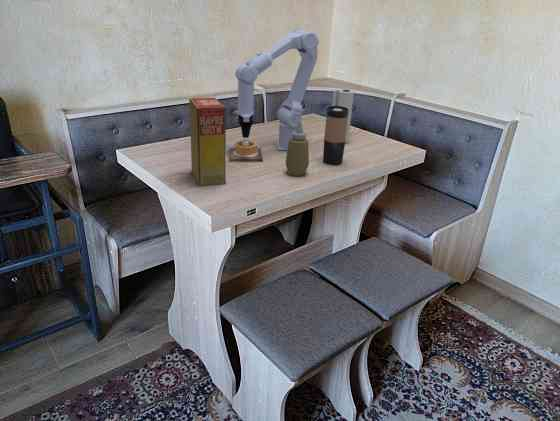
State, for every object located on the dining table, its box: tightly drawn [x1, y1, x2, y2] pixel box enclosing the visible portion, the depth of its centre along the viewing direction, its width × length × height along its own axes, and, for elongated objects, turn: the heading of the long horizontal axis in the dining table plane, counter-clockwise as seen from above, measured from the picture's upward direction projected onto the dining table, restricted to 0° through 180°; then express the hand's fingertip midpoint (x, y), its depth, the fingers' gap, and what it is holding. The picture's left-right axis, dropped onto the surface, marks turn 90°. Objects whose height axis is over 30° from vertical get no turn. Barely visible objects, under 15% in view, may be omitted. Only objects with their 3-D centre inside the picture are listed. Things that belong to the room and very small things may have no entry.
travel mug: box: [322, 105, 348, 166], centre depth 165 cm, size 8×8×20 cm
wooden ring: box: [234, 140, 258, 155], centre depth 171 cm, size 8×8×3 cm
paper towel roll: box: [331, 88, 355, 145], centre depth 187 cm, size 7×6×21 cm
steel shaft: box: [242, 139, 250, 147], centre depth 170 cm, size 2×2×5 cm
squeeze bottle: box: [285, 121, 310, 177], centre depth 154 cm, size 8×8×18 cm
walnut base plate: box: [228, 147, 264, 163], centre depth 171 cm, size 12×12×1 cm
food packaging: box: [188, 97, 227, 187], centre depth 146 cm, size 13×9×25 cm
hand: (245, 135), depth 172 cm, fingers open, 4 cm apart
